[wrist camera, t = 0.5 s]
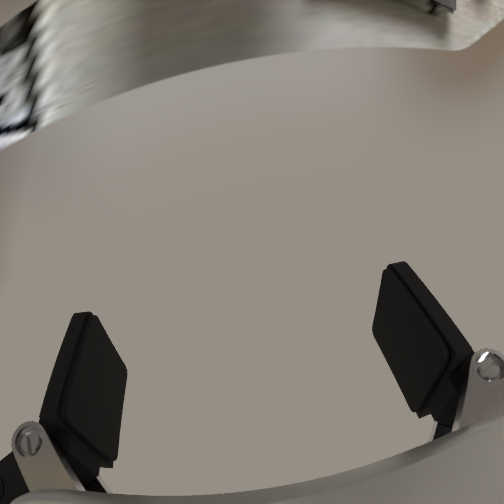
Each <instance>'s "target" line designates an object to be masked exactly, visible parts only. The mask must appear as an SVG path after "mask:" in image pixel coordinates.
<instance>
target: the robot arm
mask: <svg viewBox="0 0 504 504" xmlns="http://www.w3.org/2000/svg"><path fill="white" fill-rule="evenodd" d="M372 331H373V335H374V338H375V340H376V341H377V343H378V345H379V347H380V349H381V351H382V353H383V355H384V357H385V359H386V361H387V363H388V365H389V367H390V369H391V371H392V373H393V375H394V377H395V379H396V381H397V383H398V385H399V387H400V389H401V391H402V393H403V395H404V397H405V399H406V401H407V404H408V406H409V408H410V410H411V411H412V412H416V413H417V415H418V417H419V418H422V417H424V416H426V415H429V414H431V415H432V417H433V419H434V424H433V428H432V431H431V435H430V438H429V441H428V443H426V444H424V445H421V446H418V447H416V448H413V449H411V450H408V451H405V452H403V453H400V454H397V455H395V456H392V457H389V458H387V459H384V460H381V461H378V462H375V463H372V464H369V465H366V466H362V467H359V468H356V469H352V470H349V471H345V472H342V473H338V474H334V475H331V476H326V477H322V478H318V479H314V480H309V481H305V482H300V483H295V484H290V485H284V486H279V487H273V488H266V489H260V490H253V491H244V492H235V493H224V494H213V495H192V496H145V495H144V496H143V495H124V494H113V493H112V492H111V491H110V489H109V488H108V487H107V485H106V484H105V482H104V481H103V480H102V478H101V477H100V476H99V469H100V467H104V468H113V461H115V460H116V459H117V456H118V447H119V435H120V427H121V418H122V410H123V402H124V394H125V388H126V381H127V369H126V366H125V364H124V363H123V361H122V360H121V358H120V356H119V354H118V352H117V351H116V349H115V347H114V346H113V344H112V342H111V340H110V338H109V337H108V335H107V333H106V331H105V329H104V328H103V326H102V324H101V322H100V320H99V318H98V317H97V316H96V315H93V314H92V313H91V312H81V313H75V314H73V316H72V319H71V321H70V324H69V326H68V329H67V332H66V334H65V337H64V339H63V343H62V345H61V348H60V351H59V354H58V356H57V360H56V362H55V365H54V368H53V371H52V375H51V378H50V381H49V384H48V387H47V391H46V394H45V397H44V401H43V404H42V408H41V412H40V416H39V417H40V420H39V423H38V422H34V421H28V422H25V423H23V424H21V425H20V426H19V427H18V428H17V429H16V431H15V432H14V434H13V437H12V444H11V446H12V450H13V451H12V452H11V453H10V454H8V455H7V456H6V457H5V458H3V459H2V460H1V461H0V504H504V356H503V355H502V354H501V353H499V352H498V351H496V350H494V349H489V348H484V349H480V350H478V351H476V352H475V353H474V351H473V350H472V347H471V346H470V345H469V343H468V342H467V340H466V339H465V337H464V336H463V335H462V333H461V332H460V331H459V329H458V328H457V326H456V325H455V324H454V322H453V321H452V319H451V318H450V317H449V316H448V314H447V313H446V312H445V310H444V309H443V308H442V306H441V305H440V304H439V303H438V301H437V300H436V298H435V297H434V296H433V295H432V293H431V292H430V291H429V290H428V288H427V287H426V286H425V285H424V283H423V282H422V281H421V280H420V278H419V277H418V276H417V275H416V273H415V272H414V271H413V270H412V269H411V267H410V266H409V265H408V264H407V263H406V262H404V261H403V262H398V263H393V264H389V265H388V266H387V269H385V270H384V271H383V273H382V279H381V285H380V290H379V296H378V301H377V306H376V312H375V316H374V321H373V326H372Z"/></svg>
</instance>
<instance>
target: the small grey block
mask: <svg viewBox="0 0 504 504" xmlns="http://www.w3.org/2000/svg"><path fill="white" fill-rule="evenodd" d="M432 1H434V2H436V3H439V4H441V5H443V6H445V7H447V8H449V9H452V10H456V0H432Z"/></svg>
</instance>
